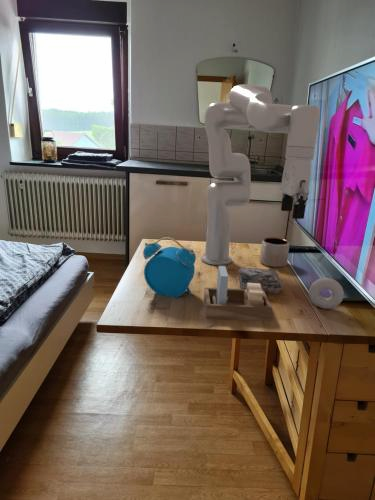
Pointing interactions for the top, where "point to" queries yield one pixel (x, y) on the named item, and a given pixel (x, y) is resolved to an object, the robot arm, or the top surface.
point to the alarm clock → (169, 268)
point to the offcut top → (254, 291)
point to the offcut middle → (253, 302)
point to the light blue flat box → (222, 285)
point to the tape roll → (326, 284)
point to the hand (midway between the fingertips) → (291, 214)
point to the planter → (274, 252)
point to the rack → (235, 306)
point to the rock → (261, 279)
